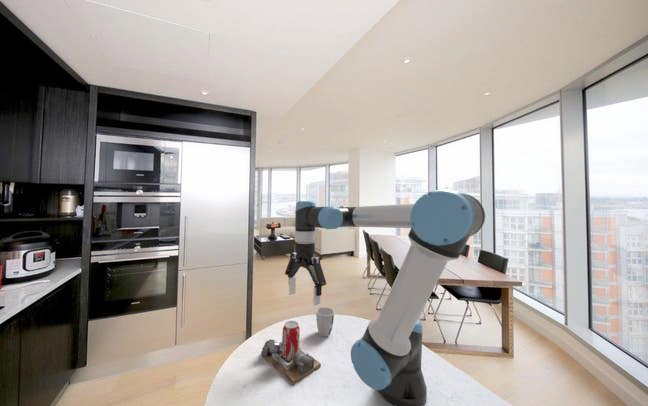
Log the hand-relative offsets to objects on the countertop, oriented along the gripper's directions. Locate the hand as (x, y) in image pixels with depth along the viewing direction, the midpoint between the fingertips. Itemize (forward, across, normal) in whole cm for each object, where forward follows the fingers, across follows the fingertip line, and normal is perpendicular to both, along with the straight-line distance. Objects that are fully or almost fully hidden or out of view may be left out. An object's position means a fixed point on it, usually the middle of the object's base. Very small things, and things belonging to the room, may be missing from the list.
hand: (303, 299), depth 86 cm
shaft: (+20, +8, +8) cm, 23 cm away
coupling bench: (+22, +2, +4) cm, 22 cm away
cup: (+22, +5, -18) cm, 29 cm away
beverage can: (+21, +2, +4) cm, 21 cm away
